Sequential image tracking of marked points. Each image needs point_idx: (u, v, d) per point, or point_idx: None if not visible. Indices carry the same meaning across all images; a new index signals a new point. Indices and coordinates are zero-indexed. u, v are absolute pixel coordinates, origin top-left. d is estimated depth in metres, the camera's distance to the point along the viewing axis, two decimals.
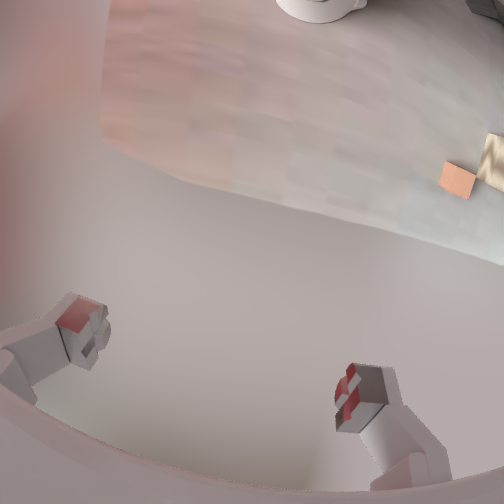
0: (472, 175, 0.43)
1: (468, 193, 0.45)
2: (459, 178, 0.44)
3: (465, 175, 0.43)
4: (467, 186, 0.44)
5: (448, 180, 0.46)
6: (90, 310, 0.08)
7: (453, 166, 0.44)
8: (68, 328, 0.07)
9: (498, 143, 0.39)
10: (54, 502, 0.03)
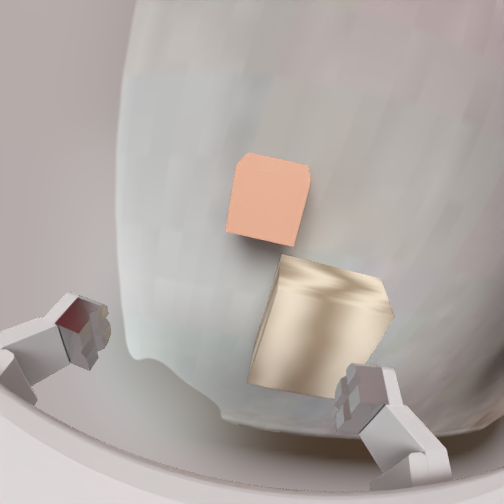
0: (292, 234, 0.21)
1: (242, 229, 0.22)
2: (278, 193, 0.20)
3: (290, 210, 0.21)
4: (258, 221, 0.21)
5: (265, 165, 0.21)
6: (90, 310, 0.08)
7: (306, 175, 0.21)
8: (68, 328, 0.07)
9: (376, 304, 0.23)
10: (54, 502, 0.03)
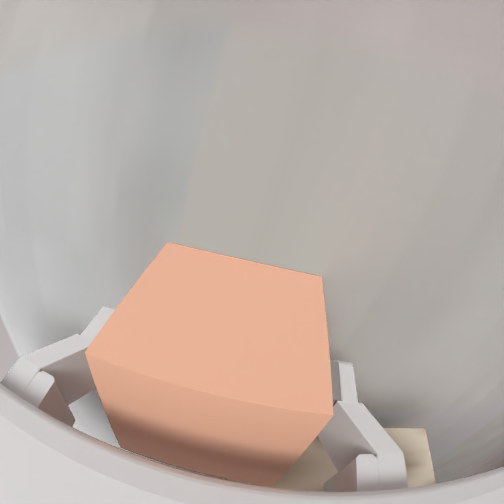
0: (269, 477, 0.07)
1: (152, 454, 0.07)
2: (225, 429, 0.06)
3: (264, 454, 0.06)
4: (185, 455, 0.07)
5: (188, 334, 0.06)
6: None
7: (317, 363, 0.06)
8: None
9: None
10: (54, 502, 0.03)
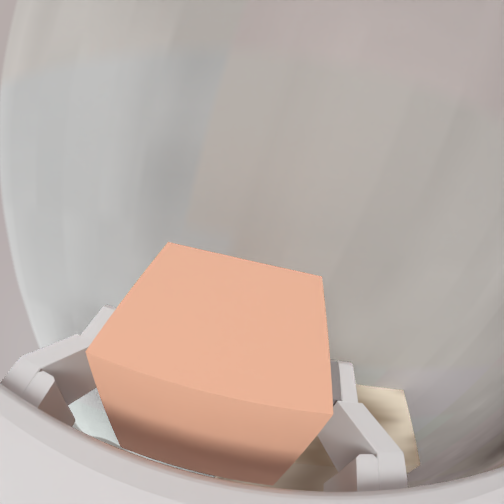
0: (269, 476, 0.07)
1: (152, 454, 0.07)
2: (225, 429, 0.06)
3: (265, 454, 0.06)
4: (185, 455, 0.07)
5: (188, 333, 0.06)
6: None
7: (317, 362, 0.06)
8: None
9: None
10: (54, 502, 0.03)
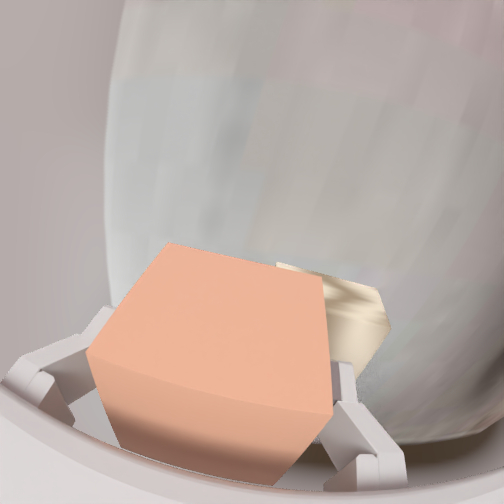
0: (269, 476, 0.07)
1: (152, 454, 0.07)
2: (226, 429, 0.06)
3: (265, 454, 0.06)
4: (186, 455, 0.07)
5: (188, 334, 0.06)
6: None
7: (317, 363, 0.06)
8: None
9: (372, 315, 0.23)
10: (54, 502, 0.03)
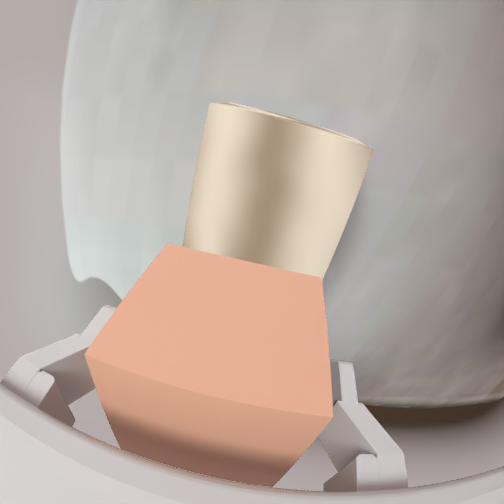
0: (269, 478, 0.07)
1: (152, 455, 0.07)
2: (225, 431, 0.06)
3: (264, 456, 0.06)
4: (185, 456, 0.07)
5: (187, 336, 0.06)
6: None
7: (317, 365, 0.06)
8: None
9: (346, 139, 0.17)
10: (54, 502, 0.03)
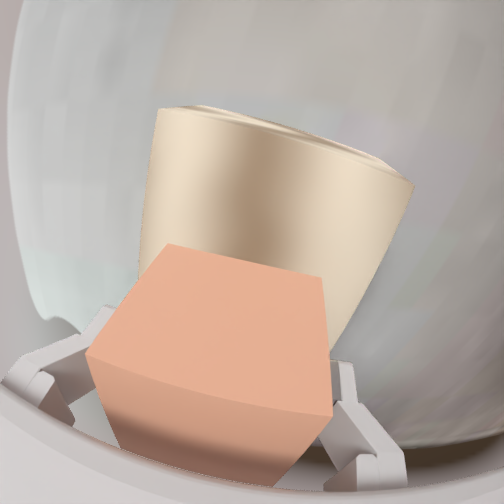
0: (269, 477, 0.07)
1: (152, 455, 0.07)
2: (225, 430, 0.06)
3: (264, 455, 0.06)
4: (185, 456, 0.07)
5: (188, 335, 0.06)
6: None
7: (317, 364, 0.06)
8: None
9: (373, 165, 0.11)
10: (54, 502, 0.03)
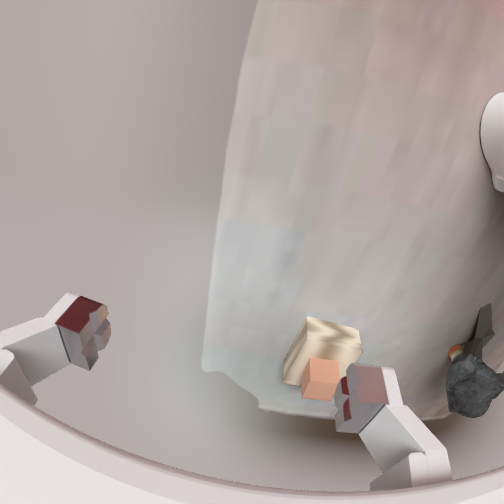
0: (330, 397, 0.45)
1: (309, 397, 0.45)
2: (326, 387, 0.44)
3: (330, 391, 0.44)
4: (316, 395, 0.45)
5: (321, 375, 0.44)
6: (90, 310, 0.08)
7: (338, 377, 0.44)
8: (68, 328, 0.07)
9: (353, 345, 0.47)
10: (54, 502, 0.03)
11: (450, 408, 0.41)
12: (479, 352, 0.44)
